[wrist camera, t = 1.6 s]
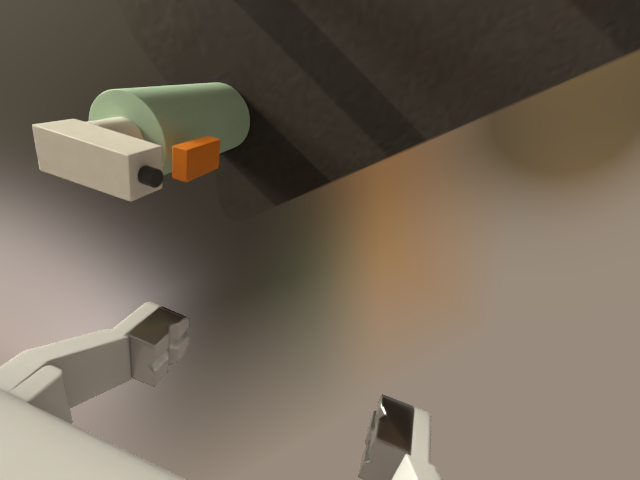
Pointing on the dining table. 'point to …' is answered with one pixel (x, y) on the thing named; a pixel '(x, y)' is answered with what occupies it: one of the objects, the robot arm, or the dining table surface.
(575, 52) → the dining table surface
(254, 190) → the dining table surface
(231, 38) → the dining table surface
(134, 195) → the spray bottle
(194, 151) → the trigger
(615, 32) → the dining table surface
